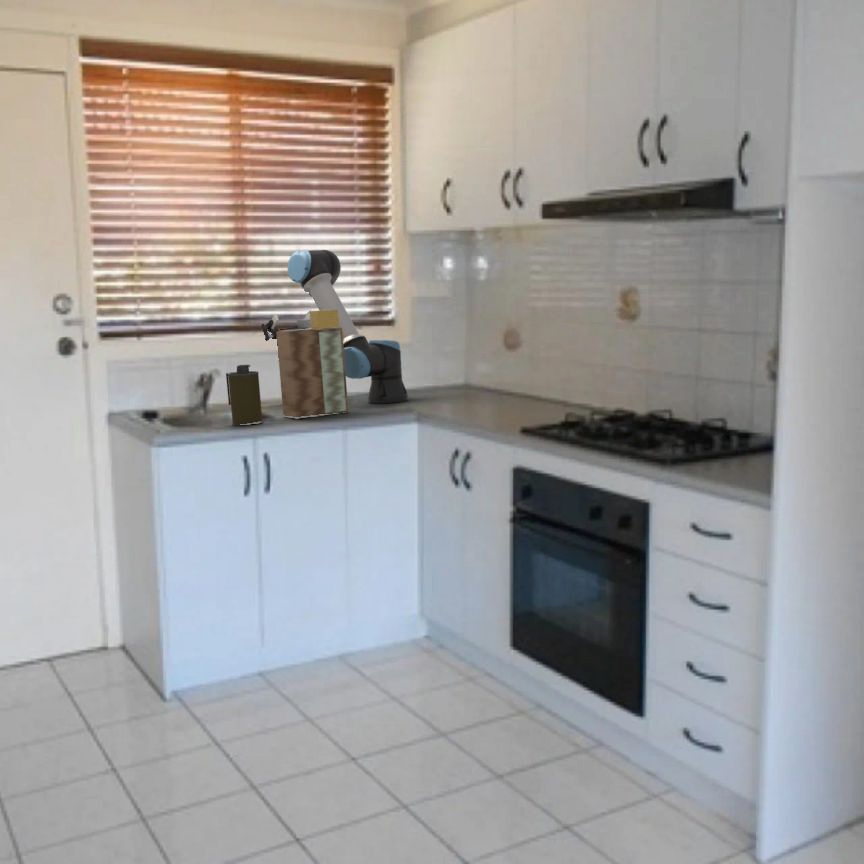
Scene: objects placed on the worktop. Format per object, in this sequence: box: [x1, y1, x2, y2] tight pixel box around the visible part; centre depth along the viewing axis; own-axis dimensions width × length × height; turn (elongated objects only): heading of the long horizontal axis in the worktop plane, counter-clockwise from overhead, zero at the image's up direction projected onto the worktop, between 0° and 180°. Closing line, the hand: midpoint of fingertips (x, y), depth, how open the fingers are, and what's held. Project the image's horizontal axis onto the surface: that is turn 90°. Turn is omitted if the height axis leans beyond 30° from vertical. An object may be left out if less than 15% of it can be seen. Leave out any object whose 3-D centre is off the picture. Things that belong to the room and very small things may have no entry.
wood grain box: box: [276, 327, 349, 417], centre depth 354 cm, size 20×11×30 cm, turn 121°
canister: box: [225, 364, 263, 426], centre depth 344 cm, size 11×10×20 cm
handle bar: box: [297, 309, 339, 329], centre depth 360 cm, size 8×24×6 cm, turn 31°
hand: (293, 315), depth 375 cm, fingers open, 13 cm apart
